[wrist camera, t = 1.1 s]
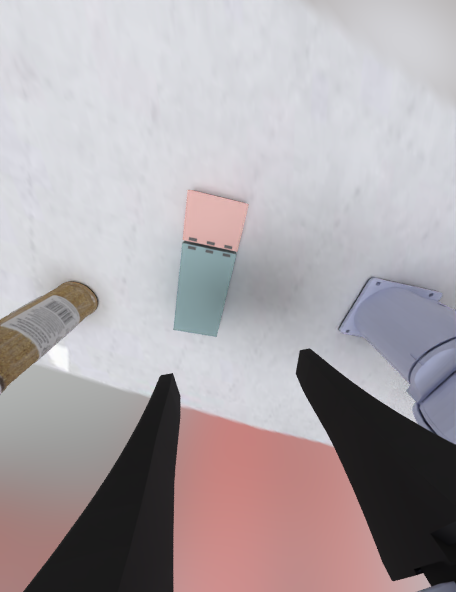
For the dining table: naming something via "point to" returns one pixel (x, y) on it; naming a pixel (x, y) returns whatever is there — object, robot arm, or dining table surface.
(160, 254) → the dining table surface
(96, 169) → the dining table surface
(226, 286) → the teal elongated prism
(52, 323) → the sprinkles bottle
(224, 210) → the stub
